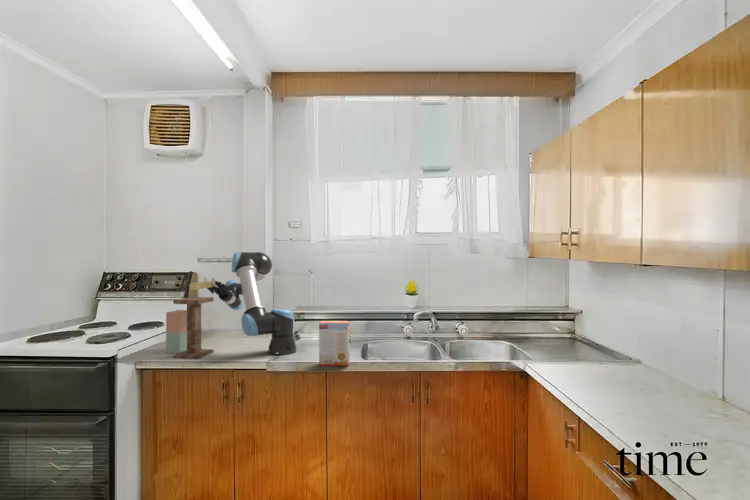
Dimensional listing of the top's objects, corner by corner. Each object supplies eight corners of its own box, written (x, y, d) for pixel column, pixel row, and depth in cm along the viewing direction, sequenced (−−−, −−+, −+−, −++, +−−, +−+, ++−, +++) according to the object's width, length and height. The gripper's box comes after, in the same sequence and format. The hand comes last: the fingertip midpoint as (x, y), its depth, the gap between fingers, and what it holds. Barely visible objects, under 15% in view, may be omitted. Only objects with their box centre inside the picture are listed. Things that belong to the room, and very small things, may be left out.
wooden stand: (213, 352, 215) (213, 297, 215) (197, 358, 201) (198, 300, 202) (190, 351, 217) (190, 297, 218) (173, 357, 203) (173, 300, 204)
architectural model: (350, 343, 237) (350, 331, 237) (339, 342, 239) (339, 330, 240) (352, 342, 240) (352, 330, 240) (341, 341, 243) (341, 329, 243)
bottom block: (190, 348, 223) (190, 329, 223) (179, 353, 213) (179, 333, 213) (178, 348, 224) (178, 329, 224) (166, 352, 214) (166, 332, 214)
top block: (190, 329, 223) (190, 310, 223) (179, 333, 213) (179, 312, 213) (178, 329, 224) (178, 309, 224) (166, 332, 214) (166, 312, 214)
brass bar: (218, 286, 235) (218, 281, 235) (196, 289, 213) (196, 283, 213) (212, 286, 236) (212, 281, 236) (189, 289, 214) (189, 283, 214)
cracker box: (349, 363, 193) (349, 320, 193) (347, 366, 187) (347, 322, 187) (321, 362, 194) (321, 320, 195) (318, 365, 188) (318, 322, 189)
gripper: (238, 302, 244) (219, 286, 225) (213, 301, 247) (192, 285, 228) (241, 291, 248) (223, 274, 228) (216, 290, 251) (196, 274, 231)
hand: (208, 279), depth 228 cm, fingers closed on brass bar, 4 cm apart
